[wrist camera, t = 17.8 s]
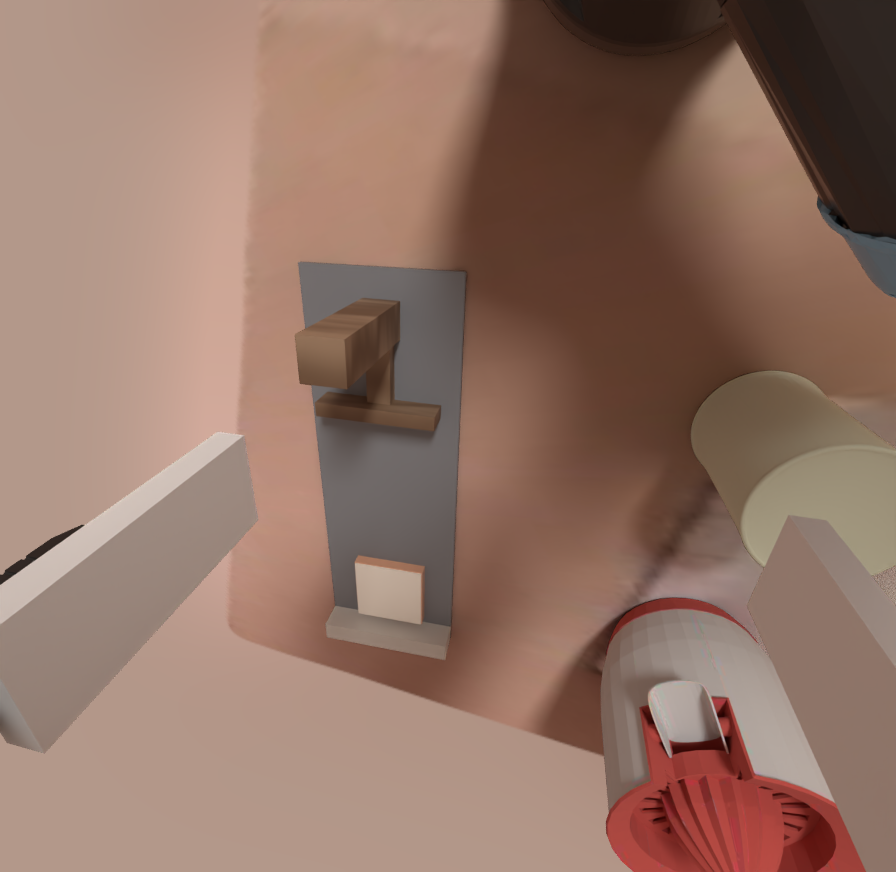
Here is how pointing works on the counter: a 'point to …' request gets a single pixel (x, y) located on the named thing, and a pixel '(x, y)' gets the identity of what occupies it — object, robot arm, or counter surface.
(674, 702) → the citrus juicer
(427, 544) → the grey board
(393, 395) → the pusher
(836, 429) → the can
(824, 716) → the robot arm
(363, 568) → the tile
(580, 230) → the counter surface
